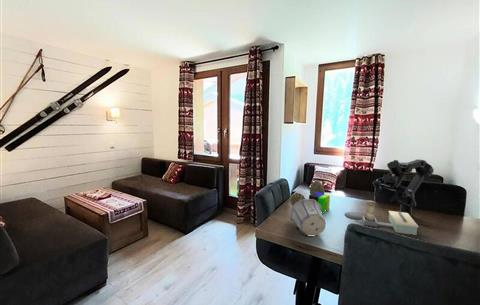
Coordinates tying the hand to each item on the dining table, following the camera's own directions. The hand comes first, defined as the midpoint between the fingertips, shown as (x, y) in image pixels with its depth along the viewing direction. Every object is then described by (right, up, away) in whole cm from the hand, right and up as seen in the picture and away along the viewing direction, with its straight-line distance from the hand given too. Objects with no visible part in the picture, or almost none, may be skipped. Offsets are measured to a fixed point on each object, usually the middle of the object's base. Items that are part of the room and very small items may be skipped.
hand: (382, 198), depth 130 cm
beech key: (-8, -14, 0) cm, 16 cm away
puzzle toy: (-30, -12, +22) cm, 39 cm away
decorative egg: (-24, -10, +42) cm, 49 cm away
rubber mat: (-12, -13, +10) cm, 21 cm away
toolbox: (+1, -14, -2) cm, 15 cm away
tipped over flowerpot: (-47, -15, -3) cm, 50 cm away
